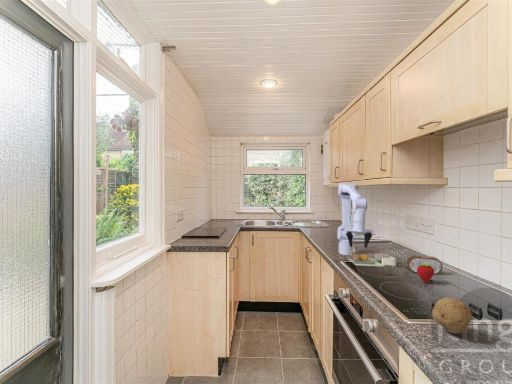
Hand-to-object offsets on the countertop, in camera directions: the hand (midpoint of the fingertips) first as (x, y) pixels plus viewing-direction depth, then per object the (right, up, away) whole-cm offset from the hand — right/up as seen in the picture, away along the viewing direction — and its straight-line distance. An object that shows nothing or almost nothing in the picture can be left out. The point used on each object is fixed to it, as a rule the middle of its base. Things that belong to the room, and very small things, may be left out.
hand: (358, 247), depth 144 cm
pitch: (+9, -10, +5) cm, 14 cm away
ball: (+5, -7, +5) cm, 10 cm away
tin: (+29, -11, -9) cm, 33 cm away
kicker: (0, -9, +5) cm, 10 cm away
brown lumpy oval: (+2, -12, -66) cm, 67 cm away
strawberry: (+21, -11, -23) cm, 33 cm away
